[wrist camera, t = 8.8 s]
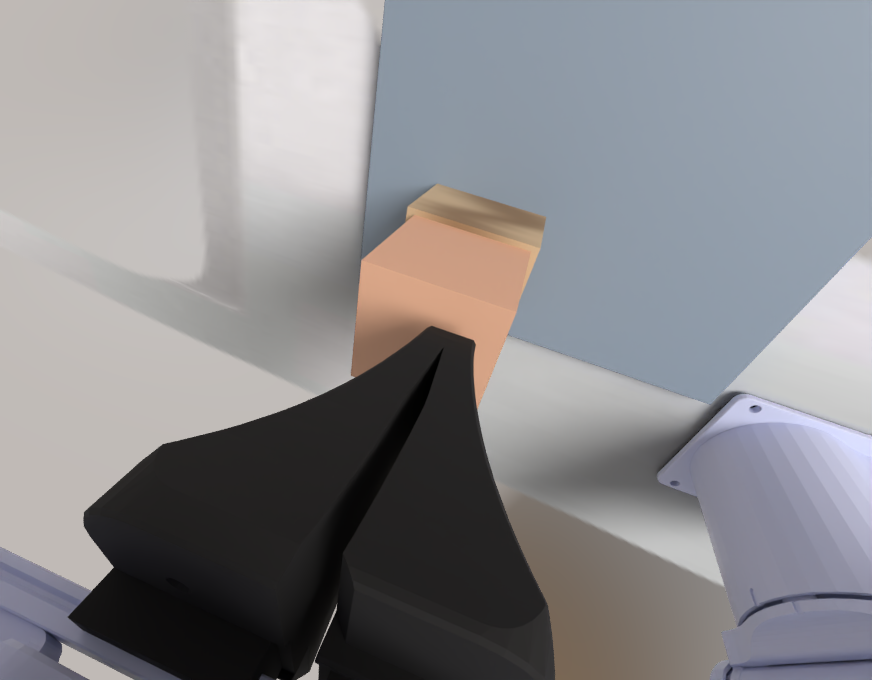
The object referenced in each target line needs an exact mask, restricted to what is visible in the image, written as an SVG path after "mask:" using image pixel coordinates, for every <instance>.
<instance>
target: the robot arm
mask: <svg viewBox="0 0 872 680" xmlns="http://www.w3.org/2000/svg"><path fill="white" fill-rule="evenodd" d="M475 347H476V344H475V342H474V340H472V339H469V338H466V337H463V336H460V335H457V334H454V333H451V332H449V331H446V330H443V329H440V328H437V327H434V326H430V327H427V328H426V329H425V330H424V331H423V332H421V333H420V334H419V335H418V336H417V337H415V338H414V339H413V340H411V341H410V342H409V343H408V344H406V345H405V346H404V347H402V348H401V349H399V350H398V351H397V352H395V353H394V354H392V355H391V356H389V357H388V358H386V359H385V360H383V361H382V362H380V363H379V364H377V365H376V366H374V367H372V368H371V369H369V370H367V371H366V372H364V373H362V374H361V375H359V376H357V377H355V378H354V379H352V380H350V381H348V382H346V383H344V384H342V385H340V386H338V387H336V388H334V389H332V390H330V391H328V392H326V393H324V394H322V395H319V396H317V397H315V398H312V399H310V400H308V401H306V402H303V403H301V404H298V405H296V406H293V407H291V408H288V409H286V410H283V411H280V412H277V413H275V414H272V415H268V416H266V417H262V418H259V419H256V420H254V421H250V422H247V423H244V424H241V425H238V426H234V427H231V428H228V429H224V430H220V431H216V432H212V433H208V434H205V435H200V436H196V437H192V438H188V439H184V440H180V441H175V442H171V443H166V444H163V445H162V446H160V447H159V448H158V449H156V450H155V451H154V452H152V453H151V454H150V455H149V456H147V457H146V458H145V459H143V460H142V461H141V462H140V463H139V464H137V465H136V466H135V467H134V468H133V469H132V470H131V471H130V472H129V473H127V474H126V475H125V476H124V477H123V478H122V479H121V480H120V481H118V482H117V483H116V484H115V485H114V486H113V487H112V488H111V489H109V490H108V491H107V492H106V493H105V494H104V495H103V496H102V497H100V498H99V499H98V500H97V501H96V502H95V503H94V504H93V505H92V506H90V507H89V508H88V509H87V510H86V511H85V512H84V527H85V529H86V530H87V532H88V534H89V535H90V537H91V538H92V539H93V541H94V542H95V543H96V544H97V546H98V547H99V548H100V550H101V551H102V552H103V554H104V555H105V556H106V557H107V559H108V560H109V561H110V563H111V564H112V565H113V567H114V568H113V569H112V570H111V571H110V573H108V574H107V576H106V577H105V578H104V579H103V580H102V581H101V582H100V583H99V584H98V585H97V586H96V587H95V588H94V589H93V590H92V591H90V590H88V589H86V588H84V587H82V586H80V585H78V584H76V583H74V582H72V581H70V580H68V579H66V578H64V577H61V576H59V575H57V574H55V573H53V572H51V571H49V570H47V569H45V568H43V567H41V566H39V565H37V564H35V563H33V562H31V561H29V560H26V559H24V558H22V557H20V556H18V555H16V554H14V553H12V552H10V551H8V550H6V549H4V548H1V547H0V680H89V679H87V678H85V677H83V676H81V675H79V674H78V673H76V672H74V671H72V670H70V669H68V668H66V667H65V666H63V665H61V664H59V663H58V662H59V658H60V656H61V653H62V644H61V643H64V644H65V645H67V646H69V647H71V648H73V649H75V650H77V651H79V652H81V653H83V654H85V655H87V656H89V657H91V658H93V659H95V660H97V661H99V662H101V663H103V664H105V665H107V666H109V667H111V668H113V669H115V670H116V671H118V672H120V673H122V674H124V675H126V676H128V677H130V678H132V679H134V680H276V679H277V678H278V679H280V680H297V679H298V678H300V677H302V676H303V675H305V674H306V673H308V672H309V671H310V669H311V667H312V664H313V662H314V659H315V657H316V654H317V651H318V649H319V647H320V644H321V642H322V639H323V637H324V634H325V632H326V629H327V627H328V624H329V622H330V620H331V617H332V614H333V612H334V609H335V607H336V605H337V611H336V613H335V616H334V618H333V620H332V622H331V625H330V627H329V629H328V631H327V633H326V636H325V638H324V640H323V642H322V645H321V647H320V649H319V652H318V654H317V657H316V659H315V663H317V664H319V679H318V680H555V668H554V667H555V666H554V650H553V640H552V631H551V623H550V616H549V610H548V605H547V603H546V600H545V598H544V596H543V594H542V592H541V590H540V588H539V586H538V584H537V582H536V580H535V578H534V576H533V574H532V572H531V570H530V568H529V566H528V563H527V561H526V559H525V557H524V555H523V552H522V550H521V548H520V546H519V543H518V541H517V538H516V536H515V534H514V531H513V529H512V527H511V524H510V522H509V519H508V517H507V514H506V511H505V509H504V506H503V503H502V500H501V497H500V495H499V492H498V489H497V486H496V484H495V481H494V478H493V474H492V471H491V468H490V464H489V461H488V457H487V454H486V450H485V446H484V442H483V438H482V433H481V428H480V423H479V417H478V412H477V405H476V397H475V386H474V352H475ZM754 405H758V406H756V407H753V408H750V407H751V406H754ZM657 479H658V481H659V483H661V484H663V485H666V486H669V487H671V488H674V489H677V490H679V491H682V492H685V493H688V494H690V495H693V496H696V497H698V500H699V503H700V507H701V510H702V513H703V517H704V520H705V523H706V526H707V530H708V533H709V536H710V540H711V543H712V546H713V550H714V553H715V556H716V559H717V563H718V566H719V569H720V573H721V576H722V579H723V582H724V586H725V589H726V592H727V595H728V599H729V602H730V605H731V609H732V612H733V615H734V618H735V622H736V625H737V628H735V629H731V630H726V631H722V632H721V633H722V637H723V640H724V645H725V648H726V651H727V656H728V659H729V660H723V661H720V662H719V663H717V664H716V665H715V666H714V668H713V670H712V672H711V676H710V680H872V436H871V435H868V434H865V433H862V432H859V431H856V430H853V429H850V428H847V427H844V426H841V425H838V424H835V423H832V422H829V421H826V420H823V419H820V418H817V417H814V416H811V415H808V414H805V413H803V412H800V411H797V410H794V409H791V408H788V407H785V406H782V405H779V404H776V403H773V402H770V401H767V400H764V399H761V398H758V397H755V396H752V395H749V394H739V395H736V396H735V397H733V398H732V399H731V400H730V401H729V402H728V403H727V404H726V405H725V406H724V407H723V408H722V409H721V410H720V411H719V412H718V413H717V414H716V415H715V416H714V417H713V418H712V419H711V420H710V421H709V422H708V423H707V424H706V425H705V426H704V427H703V428H702V429H701V430H700V431H699V432H698V433H697V434H696V435H695V436H694V437H693V438H692V439H691V440H690V441H689V442H688V443H687V444H686V445H685V446H684V447H683V448H682V449H681V450H680V451H679V452H678V453H677V454H676V455H675V456H674V457H673V458H672V459H671V460H670V461H669V462H668V463H667V464H666V465H665V466H664V467H663V468H662V469H661V470H660V471H659V472H658V474H657ZM60 642H61V643H60Z"/></svg>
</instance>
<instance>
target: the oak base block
mask: <svg viewBox="0 0 872 680" xmlns="http://www.w3.org/2000/svg"><path fill="white" fill-rule="evenodd" d="M414 215H417V216H420V217H423V218H426V219H429V220H433V221H436V222H439V223H442V224H445V225H448V226H452V227H455V228H458V229H461V230H464V231H467V232H471V233H474V234H477V235H480V236H483V237H486V238H489V239H493V240H496V241H499V242H502V243H505V244H508V245H512V246H515V247H518V248H521V249H524V250H527V251H531V254H530V258H529V262H528V266H527V271H526V275H525V279H524V283H523V287H522V292H521V295H522V293H523V291H524V288H525V286H526V283H527V281H528V278H529V276H530V273H531V271H532V268H533V266H534V263H535V261H536V258H537V256H538V253H539V251H540V248H541V243H542V238H543V232H544V227H545V221H546V217H545V216H542V215H538V214H535V213H532V212H529V211H525V210H522V209H519V208H516V207H512V206H509V205H506V204H502V203H499V202H496V201H493V200H489V199H486V198H483V197H480V196H476V195H473V194H470V193H466V192H463V191H460V190H457V189H453V188H450V187H447V186H444V185H440V184H436V185H435V186H434V187H432V188H431V189H430V190H428V191H427V192H426V193H424V194H423V195H422V196H421V197H419V198H418V199H417V200H415V201H414V202H413V203H411V204H410V205H409V206H408V208H407V214H406V220H405V223H406V222H407V221H408V220H409V219H410V218H411V217H413V216H414ZM520 298H521V296H520Z"/></svg>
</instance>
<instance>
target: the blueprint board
mask: <svg viewBox="0 0 872 680" xmlns="http://www.w3.org/2000/svg"><path fill="white" fill-rule="evenodd" d="M436 184H440V185H444V186H447V187H450V188H453V189H457V190H460V191H463V192H466V193H470V194H473V195H476V196H480V197H483V198H486V199H489V200H493V201H496V202H499V203H502V204H506V205H509V206H512V207H516V208H519V209H522V210H525V211H529V212H532V213H535V214H538V215H542V216H545V217H546V221H545V227H544V232H543V238H542V243H541V248H540V251H539V253H538V256H537V258H536V261H535V263H534V266H533V268H532V271H531V273H530V276H529V278H528V281H527V283H526V286H525V288H524V291H523V293H522V295H521V298H520V300H519V304H518V309H517V313H516V315H515V318H514V320H513V322H512V325H511V327H510V330H509V332H508V335H510V336H513V337H516V338H519V339H521V340H524V341H527V342H530V343H533V344H536V345H539V346H542V347H545V348H548V349H550V350H553V351H556V352H559V353H562V354H565V355H568V356H571V357H574V358H577V359H579V360H582V361H585V362H588V363H591V364H594V365H597V366H600V367H603V368H606V369H608V370H611V371H614V372H617V373H620V374H623V375H626V376H629V377H632V378H635V379H637V380H640V381H643V382H646V383H649V384H652V385H655V386H658V387H661V388H664V389H666V390H669V391H672V392H675V393H678V394H681V395H684V396H687V397H690V398H692V399H695V400H698V401H701V402H704V403H707V404H710V405H711V403H712V402H713V401H714V400H715V399H716V398H717V397H718V396H719V395H720V394H721V393H722V392H723V391H724V390H725V389H726V388H727V387H728V386H729V385H730V384H731V383H732V382H733V381H734V380H735V379H736V377H737V376H738V375H739V374H740V373H741V372H742V371H743V370H744V369H745V368H746V367H747V366H748V365H749V364H750V363H751V362H752V361H753V360H754V359H755V358H756V357H757V356H758V355H759V354H760V353H761V352H762V350H763V349H764V348H765V347H766V346H767V345H768V344H769V343H770V342H771V341H772V340H773V339H774V338H775V337H776V336H777V335H778V334H779V333H780V332H781V331H782V330H783V329H784V328H785V327H786V326H787V324H788V323H789V322H790V321H791V320H792V319H793V318H794V317H795V316H796V315H797V314H798V313H799V312H800V311H801V310H802V309H803V308H804V307H805V306H806V305H807V304H808V303H809V302H810V301H811V300H812V299H813V297H814V296H815V295H816V294H817V293H818V292H819V291H820V290H821V289H822V288H823V287H824V286H825V285H826V284H827V283H828V282H829V281H830V280H831V279H832V278H833V277H834V276H835V275H836V274H837V273H838V271H839V270H840V269H841V268H842V267H843V266H844V265H845V264H846V263H847V262H848V261H849V260H850V259H851V258H852V257H853V256H854V255H855V254H856V253H857V252H858V251H859V250H860V248H862V247H863V246H864V244H865V243H866V242H867V241H868V240H869V239H870V238H871V237H872V0H385V5H384V16H383V26H382V37H381V48H380V59H379V70H378V80H377V91H376V102H375V113H374V124H373V135H372V145H371V156H370V167H369V178H368V189H367V199H366V210H365V221H364V232H363V243H362V254H361V260H362V259H363V258H365V257H366V256H367V255H368V254H369V253H370V252H372V251H373V250H374V249H375V248H376V247H377V246H379V245H380V244H381V243H382V242H383V241H385V240H386V239H387V238H388V237H389V236H390V235H392V234H393V233H394V232H395V231H396V230H397V229H399V228H400V227H401V226H402V225H403V224H404V223H405V220H406V214H407V208H408V206H409V205H410V204H411V203H413V202H414V201H415V200H417V199H418V198H419V197H421V196H422V195H423V194H424V193H426V192H427V191H428V190H430V189H431V188H432V187H434V186H435V185H436ZM360 271H361V264H360ZM359 282H360V275H359Z"/></svg>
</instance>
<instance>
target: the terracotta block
mask: <svg viewBox="0 0 872 680" xmlns="http://www.w3.org/2000/svg"><path fill="white" fill-rule="evenodd" d="M530 254H531V251H527V250H524V249H521V248H518V247H515V246H512V245H508V244H505V243H502V242H499V241H496V240H493V239H489V238H486V237H483V236H480V235H477V234H474V233H471V232H467V231H464V230H461V229H458V228H455V227H452V226H448V225H445V224H442V223H439V222H436V221H433V220H429V219H426V218H423V217H420V216H417V215H414V216H413V217H411V218H410V219H409V220H408V221H407V222H406V223H404V224H403V225H402V226H401V227H400V228H399V229H397V230H396V231H395V232H394V233H393V234H392V235H390V236H389V237H388V238H387V239H386V240H385V241H383V242H382V243H381V244H380V245H379V246H377V247H376V248H375V249H374V250H373V251H372V252H370V253H369V254H368V255H367V256H366V257H365V258H363V259H362V260H361V271H360V282H359V293H358V304H357V315H356V326H355V336H354V347H353V358H352V369H351V376H353V377H357V376H359V375H361V374H362V373H364V372H366V371H367V370H369V369H371V368H372V367H374V366H376V365H377V364H379V363H380V362H382V361H383V360H385V359H386V358H388V357H389V356H391V355H392V354H394V353H395V352H397V351H398V350H399V349H401V348H402V347H404V346H405V345H406V344H408V343H409V342H410V341H411V340H413V339H414V338H415V337H417V336H418V335H419V334H420V333H421V332H423V331H424V330H425V329H426V328H427V327H430V326H434V327H437V328H440V329H443V330H446V331H449V332H451V333H454V334H457V335H460V336H463V337H466V338H469V339H472V340H474V342H475V344H476V347H475V352H474V386H475V397H476V405H477V409H478V406H479V404H480V401H481V399H482V396H483V394H484V391H485V389H486V387H487V384H488V382H489V379H490V377H491V374H492V372H493V369H494V367H495V364H496V362H497V359H498V357H499V355H500V352H501V350H502V347H503V345H504V342H505V340H506V337H507V335H508V332H509V330H510V327H511V325H512V322H513V320H514V318H515V315H516V313H517V309H518V304H519V300H520V296H521V292H522V287H523V283H524V279H525V275H526V271H527V266H528V262H529V258H530Z"/></svg>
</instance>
